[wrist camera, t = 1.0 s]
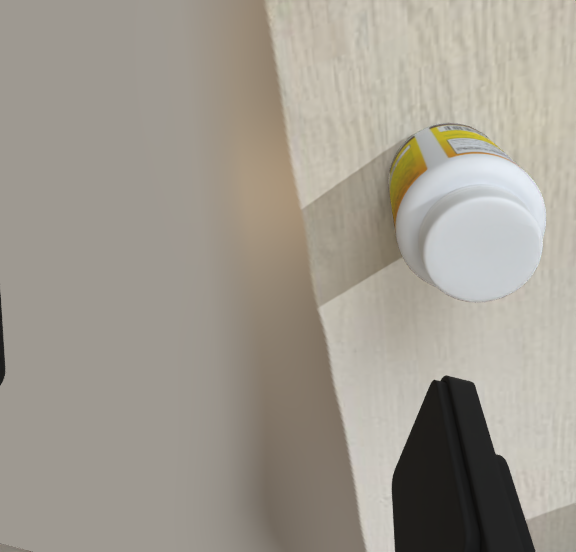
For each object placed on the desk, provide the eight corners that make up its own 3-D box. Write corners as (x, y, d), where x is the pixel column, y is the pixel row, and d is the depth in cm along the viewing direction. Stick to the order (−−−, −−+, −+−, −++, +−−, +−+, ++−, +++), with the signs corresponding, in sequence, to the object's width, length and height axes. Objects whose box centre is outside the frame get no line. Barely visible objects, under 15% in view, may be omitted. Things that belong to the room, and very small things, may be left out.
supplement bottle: (408, 240, 29) (427, 341, 20) (372, 147, 27) (374, 210, 18) (512, 203, 27) (586, 295, 18) (481, 101, 25) (546, 145, 16)
